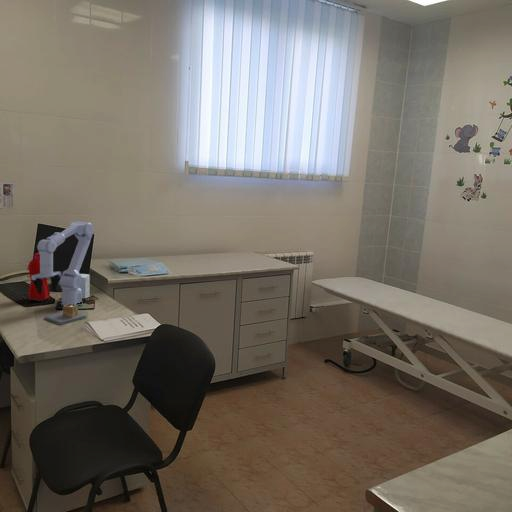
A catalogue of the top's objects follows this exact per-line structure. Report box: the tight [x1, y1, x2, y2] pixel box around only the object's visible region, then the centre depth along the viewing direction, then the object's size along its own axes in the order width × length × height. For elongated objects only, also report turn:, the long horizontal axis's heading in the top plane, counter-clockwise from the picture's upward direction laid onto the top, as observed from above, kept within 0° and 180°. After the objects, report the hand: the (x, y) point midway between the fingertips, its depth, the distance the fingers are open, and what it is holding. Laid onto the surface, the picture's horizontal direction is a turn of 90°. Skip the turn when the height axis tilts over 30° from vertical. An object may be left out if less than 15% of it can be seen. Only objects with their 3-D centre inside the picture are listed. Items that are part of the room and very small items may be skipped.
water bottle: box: [26, 252, 51, 300], centre depth 260 cm, size 9×11×25 cm
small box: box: [79, 273, 91, 298], centre depth 267 cm, size 8×6×13 cm
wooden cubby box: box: [62, 304, 79, 318], centre depth 236 cm, size 5×5×5 cm
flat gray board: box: [44, 311, 87, 325], centre depth 235 cm, size 14×12×1 cm
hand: (46, 292), depth 239 cm, fingers open, 7 cm apart
